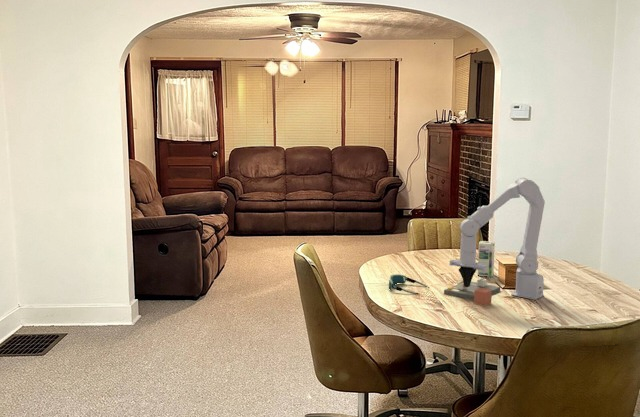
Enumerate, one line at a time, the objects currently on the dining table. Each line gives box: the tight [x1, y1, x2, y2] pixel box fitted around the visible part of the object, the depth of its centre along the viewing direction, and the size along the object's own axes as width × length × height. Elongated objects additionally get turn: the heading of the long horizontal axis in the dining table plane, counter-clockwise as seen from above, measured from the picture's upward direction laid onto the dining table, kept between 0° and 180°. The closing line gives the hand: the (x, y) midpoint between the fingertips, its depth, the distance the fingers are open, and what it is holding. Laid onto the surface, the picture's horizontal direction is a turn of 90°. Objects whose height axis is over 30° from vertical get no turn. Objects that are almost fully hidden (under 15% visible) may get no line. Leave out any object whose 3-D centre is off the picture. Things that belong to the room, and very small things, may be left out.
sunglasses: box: [388, 273, 430, 295], centre depth 240 cm, size 14×15×5 cm
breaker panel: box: [443, 281, 501, 301], centre depth 234 cm, size 14×18×2 cm
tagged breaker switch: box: [456, 280, 467, 290], centre depth 233 cm, size 2×3×3 cm
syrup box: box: [477, 240, 496, 278], centre depth 259 cm, size 6×6×14 cm
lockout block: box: [473, 288, 492, 307], centre depth 220 cm, size 4×4×5 cm
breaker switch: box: [476, 277, 488, 287], centre depth 237 cm, size 2×3×3 cm
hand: (467, 286), depth 232 cm, fingers closed
